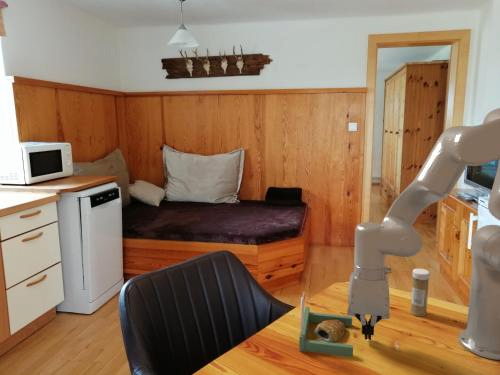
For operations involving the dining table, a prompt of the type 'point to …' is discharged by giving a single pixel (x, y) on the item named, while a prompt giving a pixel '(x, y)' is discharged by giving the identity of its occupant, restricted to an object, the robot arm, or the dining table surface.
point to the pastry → (330, 330)
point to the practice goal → (319, 345)
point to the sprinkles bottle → (419, 292)
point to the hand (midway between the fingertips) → (367, 336)
